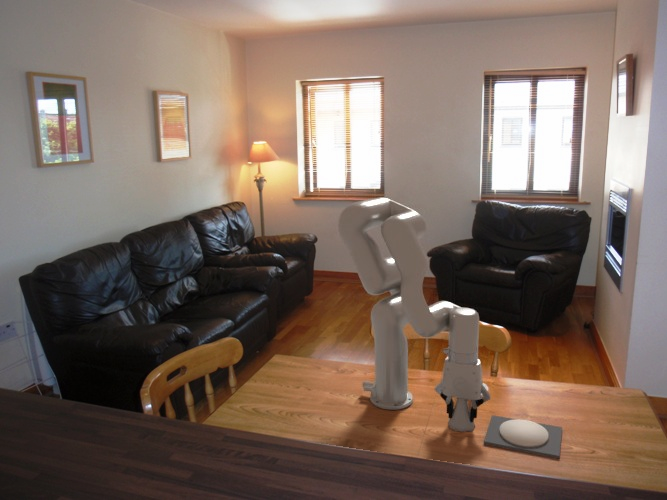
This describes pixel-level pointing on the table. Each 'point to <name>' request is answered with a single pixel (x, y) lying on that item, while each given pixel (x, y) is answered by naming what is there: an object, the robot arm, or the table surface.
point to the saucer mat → (524, 436)
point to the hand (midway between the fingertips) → (461, 417)
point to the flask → (461, 417)
